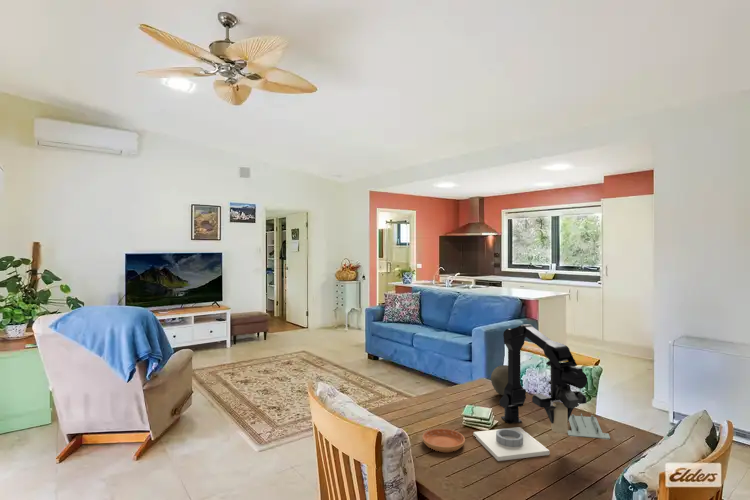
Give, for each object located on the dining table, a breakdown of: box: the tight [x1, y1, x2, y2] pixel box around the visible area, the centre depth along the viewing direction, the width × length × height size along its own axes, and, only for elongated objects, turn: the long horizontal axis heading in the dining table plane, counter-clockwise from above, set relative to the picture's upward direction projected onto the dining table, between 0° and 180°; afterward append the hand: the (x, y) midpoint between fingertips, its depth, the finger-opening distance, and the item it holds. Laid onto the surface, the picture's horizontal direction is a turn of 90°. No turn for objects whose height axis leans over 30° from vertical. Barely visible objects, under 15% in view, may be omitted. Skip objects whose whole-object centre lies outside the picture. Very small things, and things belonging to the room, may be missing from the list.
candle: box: [550, 402, 569, 435], centre depth 154 cm, size 6×6×10 cm
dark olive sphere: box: [490, 364, 508, 397], centre depth 209 cm, size 14×14×15 cm
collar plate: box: [473, 426, 551, 462], centre depth 158 cm, size 20×20×4 cm
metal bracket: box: [566, 413, 611, 440], centre depth 169 cm, size 14×6×15 cm
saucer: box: [421, 428, 466, 453], centre depth 159 cm, size 16×16×3 cm
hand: (559, 422), depth 154 cm, fingers closed on candle, 5 cm apart
